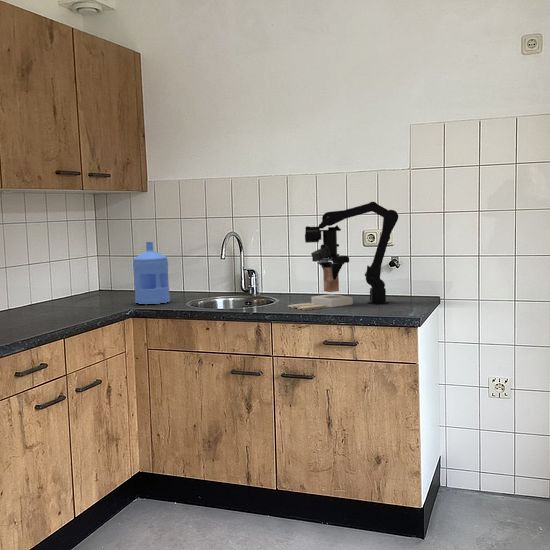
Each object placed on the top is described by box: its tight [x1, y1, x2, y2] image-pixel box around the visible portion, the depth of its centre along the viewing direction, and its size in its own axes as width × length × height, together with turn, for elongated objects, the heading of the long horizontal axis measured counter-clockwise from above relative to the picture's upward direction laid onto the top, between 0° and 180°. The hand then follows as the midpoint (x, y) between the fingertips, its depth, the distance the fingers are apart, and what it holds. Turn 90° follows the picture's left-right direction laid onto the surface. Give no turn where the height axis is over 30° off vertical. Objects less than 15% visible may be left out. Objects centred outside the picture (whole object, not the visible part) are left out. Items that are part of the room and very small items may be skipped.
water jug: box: [132, 241, 171, 305], centre depth 302 cm, size 16×16×28 cm
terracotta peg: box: [322, 267, 340, 293], centre depth 277 cm, size 4×4×10 cm
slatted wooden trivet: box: [287, 302, 327, 311], centre depth 272 cm, size 13×10×1 cm
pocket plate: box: [310, 293, 354, 308], centre depth 278 cm, size 14×11×3 cm
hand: (331, 279), depth 277 cm, fingers closed on terracotta peg, 4 cm apart
